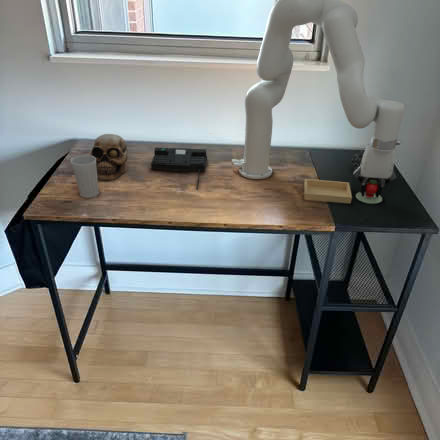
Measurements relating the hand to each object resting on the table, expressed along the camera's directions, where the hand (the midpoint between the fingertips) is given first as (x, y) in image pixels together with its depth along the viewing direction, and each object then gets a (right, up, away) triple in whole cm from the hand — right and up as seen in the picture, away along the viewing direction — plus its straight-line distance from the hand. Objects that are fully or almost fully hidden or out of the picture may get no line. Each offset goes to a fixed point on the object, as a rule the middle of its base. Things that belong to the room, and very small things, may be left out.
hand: (369, 194), depth 154 cm
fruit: (+2, +11, +16) cm, 19 cm away
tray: (-14, 0, +2) cm, 15 cm away
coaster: (0, -1, +1) cm, 2 cm away
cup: (-97, 0, -1) cm, 97 cm away
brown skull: (-93, +12, +15) cm, 95 cm away
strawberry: (0, 0, 0) cm, 0 cm away
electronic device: (-67, +12, +15) cm, 70 cm away
